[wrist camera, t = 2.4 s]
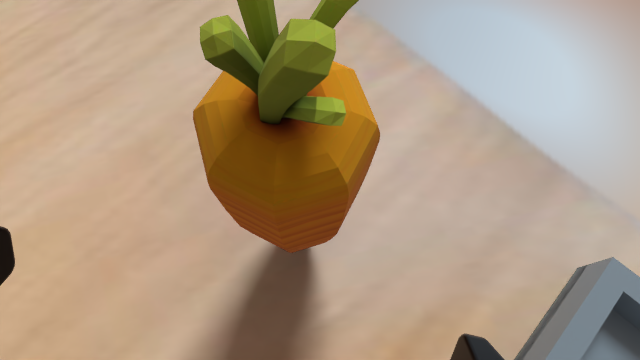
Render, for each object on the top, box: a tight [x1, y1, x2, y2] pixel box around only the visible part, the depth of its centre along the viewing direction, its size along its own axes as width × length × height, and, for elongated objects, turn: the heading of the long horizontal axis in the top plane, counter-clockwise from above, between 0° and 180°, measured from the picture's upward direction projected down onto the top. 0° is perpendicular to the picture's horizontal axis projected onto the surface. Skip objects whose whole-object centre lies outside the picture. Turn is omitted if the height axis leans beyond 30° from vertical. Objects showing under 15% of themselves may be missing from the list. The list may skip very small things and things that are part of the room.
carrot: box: [193, 0, 380, 253], centre depth 13 cm, size 5×5×15 cm
